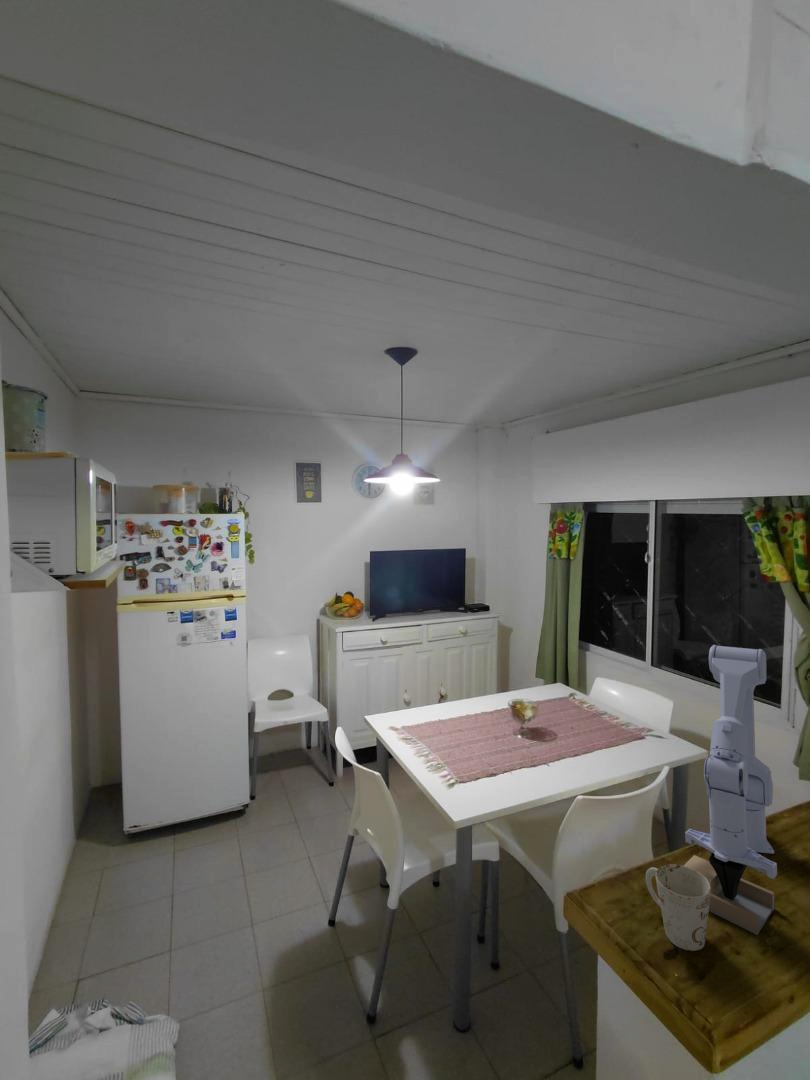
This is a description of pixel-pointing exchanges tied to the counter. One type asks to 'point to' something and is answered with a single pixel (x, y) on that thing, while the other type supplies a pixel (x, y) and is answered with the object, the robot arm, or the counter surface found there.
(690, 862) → the tan wooden block
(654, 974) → the counter surface
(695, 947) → the mug
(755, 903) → the bay
